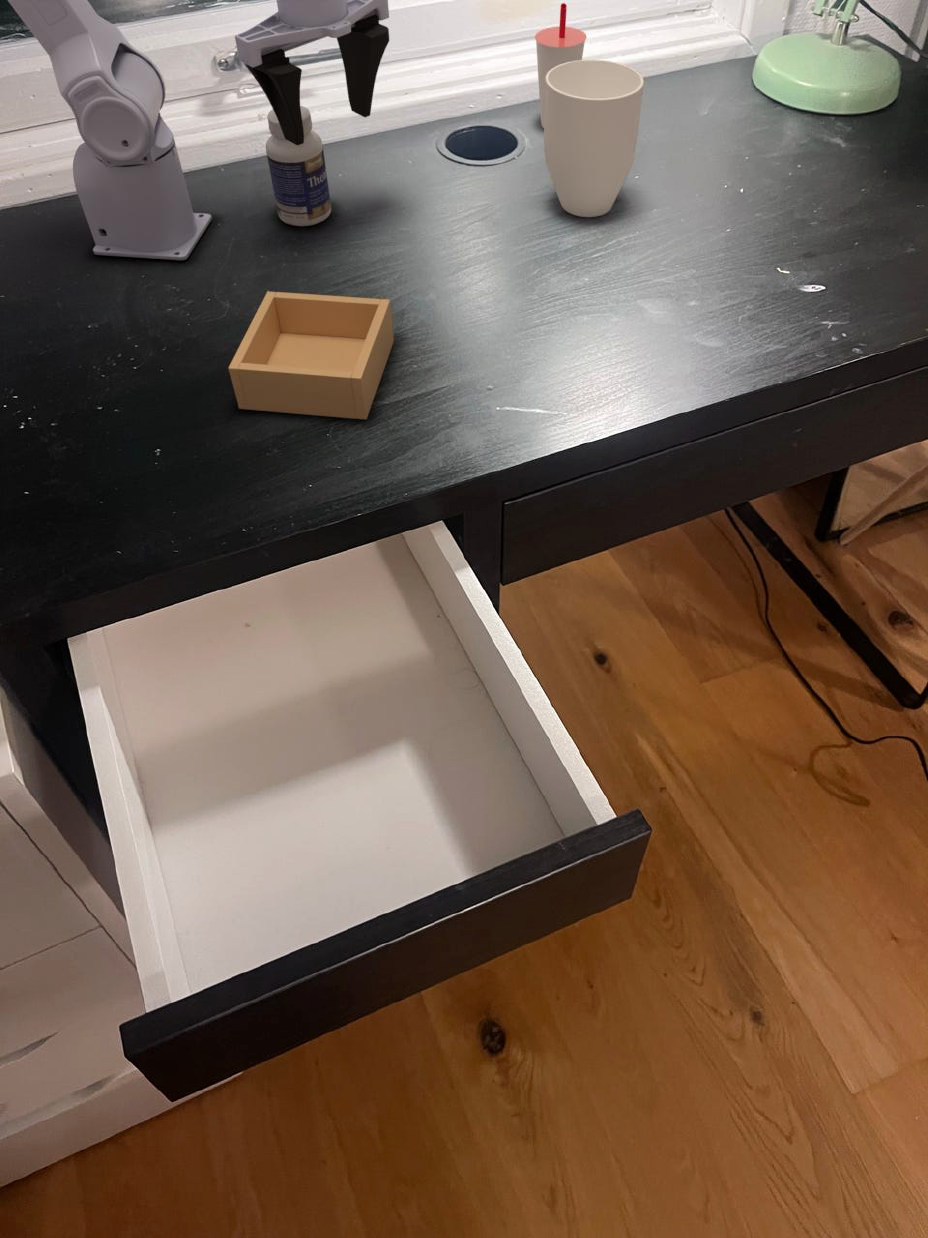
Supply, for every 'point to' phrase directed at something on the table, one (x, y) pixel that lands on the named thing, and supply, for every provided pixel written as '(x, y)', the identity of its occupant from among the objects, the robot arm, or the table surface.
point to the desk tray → (313, 355)
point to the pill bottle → (298, 174)
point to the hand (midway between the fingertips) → (328, 126)
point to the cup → (556, 51)
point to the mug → (591, 132)
